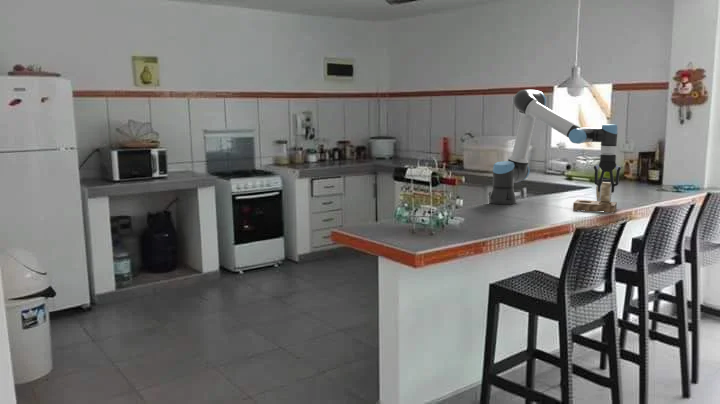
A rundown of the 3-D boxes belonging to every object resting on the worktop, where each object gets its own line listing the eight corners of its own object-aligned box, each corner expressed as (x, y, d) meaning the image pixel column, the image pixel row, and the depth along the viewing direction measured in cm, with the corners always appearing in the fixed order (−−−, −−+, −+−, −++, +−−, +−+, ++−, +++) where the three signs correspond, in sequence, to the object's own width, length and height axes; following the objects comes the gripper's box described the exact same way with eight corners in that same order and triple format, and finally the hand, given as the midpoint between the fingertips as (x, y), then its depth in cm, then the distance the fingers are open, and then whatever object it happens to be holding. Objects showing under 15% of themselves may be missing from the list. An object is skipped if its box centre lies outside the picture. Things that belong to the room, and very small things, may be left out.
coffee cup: (613, 206, 321) (615, 179, 318) (596, 205, 322) (598, 179, 320) (610, 203, 329) (611, 177, 327) (593, 203, 331) (594, 177, 329)
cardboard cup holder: (573, 210, 310) (573, 202, 310) (576, 206, 321) (577, 199, 320) (613, 213, 300) (614, 205, 300) (616, 209, 311) (616, 202, 310)
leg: (600, 209, 307) (601, 182, 305) (601, 207, 311) (602, 181, 308) (608, 209, 305) (610, 183, 303) (609, 208, 309) (611, 182, 306)
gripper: (589, 154, 304) (587, 198, 308) (625, 155, 296) (622, 200, 300) (591, 152, 310) (589, 196, 314) (626, 154, 302) (623, 198, 306)
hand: (605, 198), depth 307 cm, fingers closed on leg, 4 cm apart
